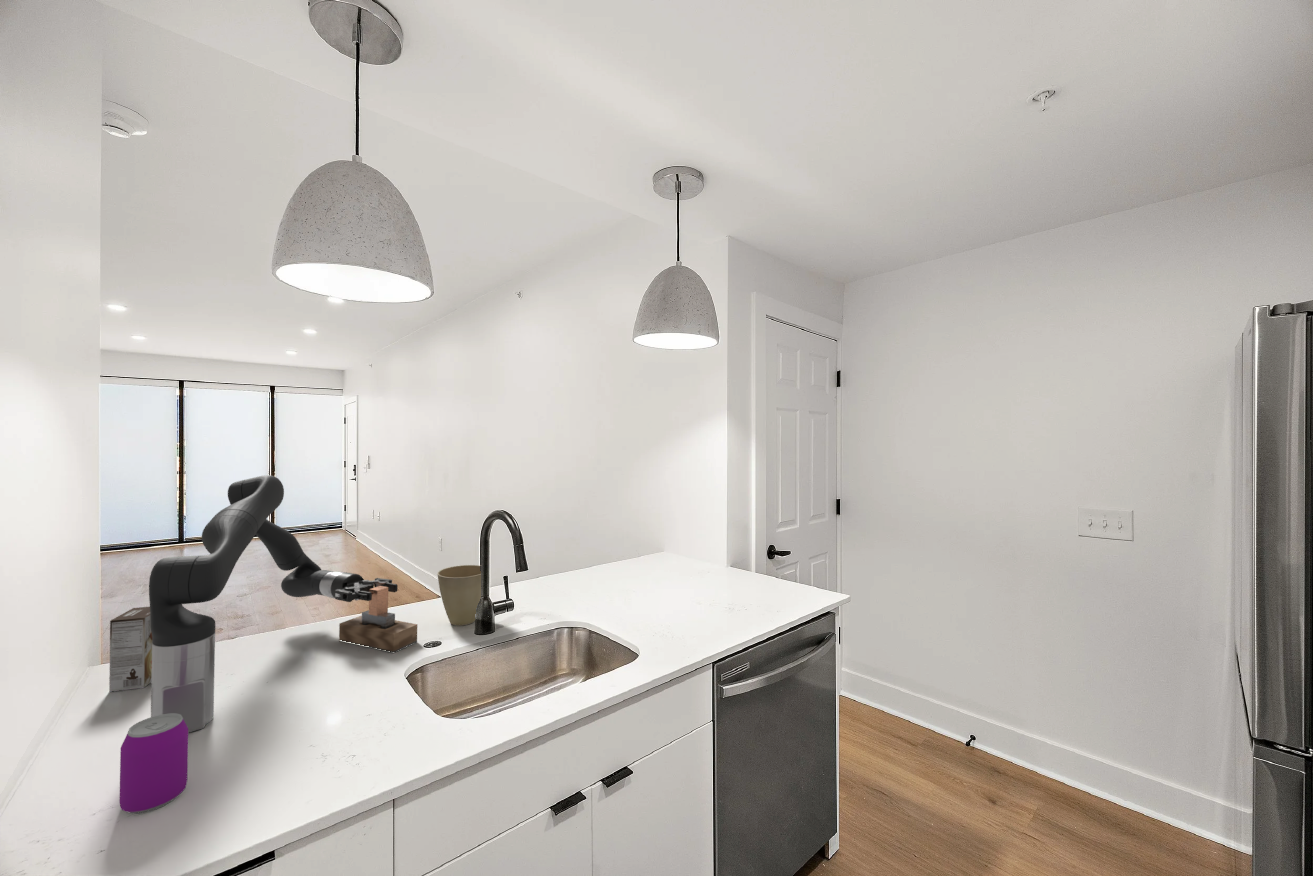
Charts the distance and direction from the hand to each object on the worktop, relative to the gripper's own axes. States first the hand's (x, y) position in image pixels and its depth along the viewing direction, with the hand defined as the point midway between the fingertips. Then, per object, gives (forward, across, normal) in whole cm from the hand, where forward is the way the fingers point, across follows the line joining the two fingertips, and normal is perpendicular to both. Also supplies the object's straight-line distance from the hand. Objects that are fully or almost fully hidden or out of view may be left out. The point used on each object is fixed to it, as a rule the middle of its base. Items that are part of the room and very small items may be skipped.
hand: (384, 592), depth 144 cm
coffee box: (-32, -38, +14) cm, 52 cm away
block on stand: (-2, 0, +14) cm, 14 cm away
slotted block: (-2, 0, +14) cm, 14 cm away
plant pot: (+9, +22, +14) cm, 27 cm away
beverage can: (+19, -60, +14) cm, 64 cm away
